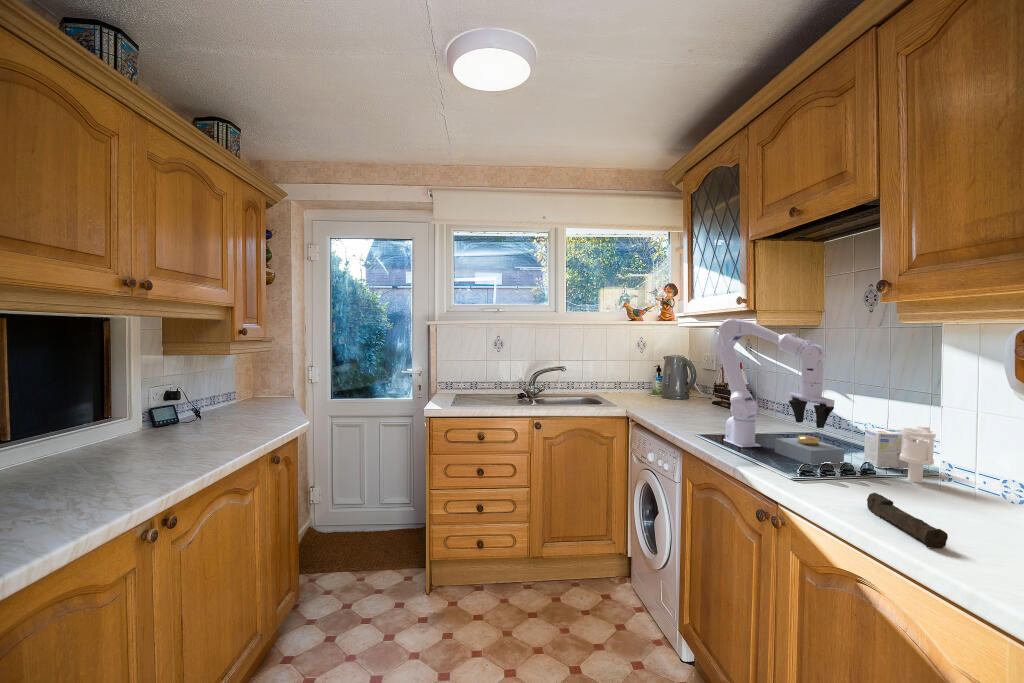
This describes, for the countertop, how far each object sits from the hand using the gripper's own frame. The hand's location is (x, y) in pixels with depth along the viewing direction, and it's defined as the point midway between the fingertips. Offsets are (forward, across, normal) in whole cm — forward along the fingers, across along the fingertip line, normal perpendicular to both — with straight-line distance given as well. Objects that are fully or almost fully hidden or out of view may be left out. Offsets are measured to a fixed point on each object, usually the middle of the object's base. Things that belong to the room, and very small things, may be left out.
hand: (809, 424), depth 146 cm
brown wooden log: (+11, +45, -25) cm, 52 cm away
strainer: (+11, +24, +11) cm, 28 cm away
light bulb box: (+11, +12, +17) cm, 24 cm away
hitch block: (+10, 0, 0) cm, 10 cm away
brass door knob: (+10, 0, -1) cm, 10 cm away
